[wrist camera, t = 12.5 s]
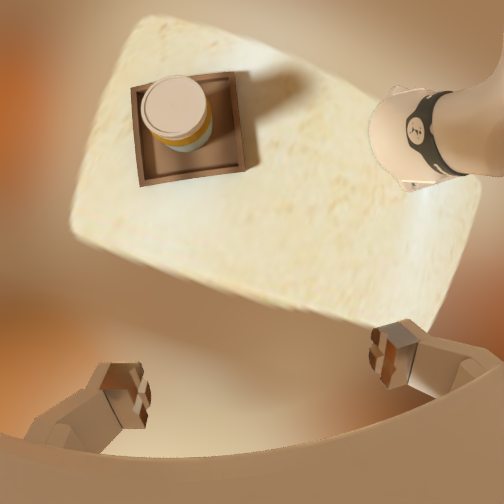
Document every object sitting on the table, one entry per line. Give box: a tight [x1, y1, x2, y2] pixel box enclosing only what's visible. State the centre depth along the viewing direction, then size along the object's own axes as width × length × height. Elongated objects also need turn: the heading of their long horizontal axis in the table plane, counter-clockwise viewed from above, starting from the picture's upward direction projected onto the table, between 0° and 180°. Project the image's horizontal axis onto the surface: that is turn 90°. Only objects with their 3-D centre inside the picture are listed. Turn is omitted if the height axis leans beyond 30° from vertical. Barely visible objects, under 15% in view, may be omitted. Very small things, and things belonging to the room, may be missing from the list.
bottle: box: [141, 75, 212, 152], centre depth 31 cm, size 7×7×15 cm
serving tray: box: [131, 72, 245, 187], centre depth 38 cm, size 15×15×2 cm
